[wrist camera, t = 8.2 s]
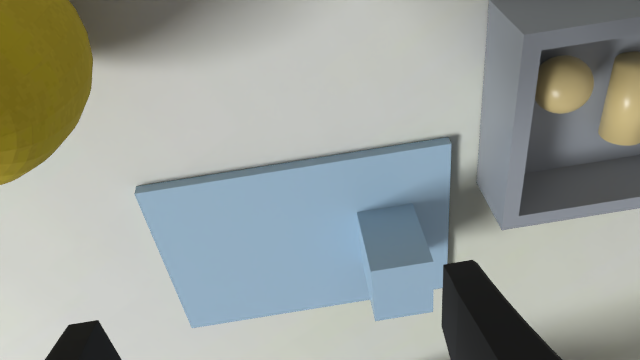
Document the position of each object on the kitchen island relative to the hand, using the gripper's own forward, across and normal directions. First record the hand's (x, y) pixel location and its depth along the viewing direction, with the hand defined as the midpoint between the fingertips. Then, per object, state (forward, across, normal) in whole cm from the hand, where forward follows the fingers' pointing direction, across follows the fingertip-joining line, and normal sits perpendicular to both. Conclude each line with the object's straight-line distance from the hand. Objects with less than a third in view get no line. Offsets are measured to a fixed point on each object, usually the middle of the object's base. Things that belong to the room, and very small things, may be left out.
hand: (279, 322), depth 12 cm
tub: (+10, -14, +2) cm, 18 cm away
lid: (+11, 0, +8) cm, 13 cm away
